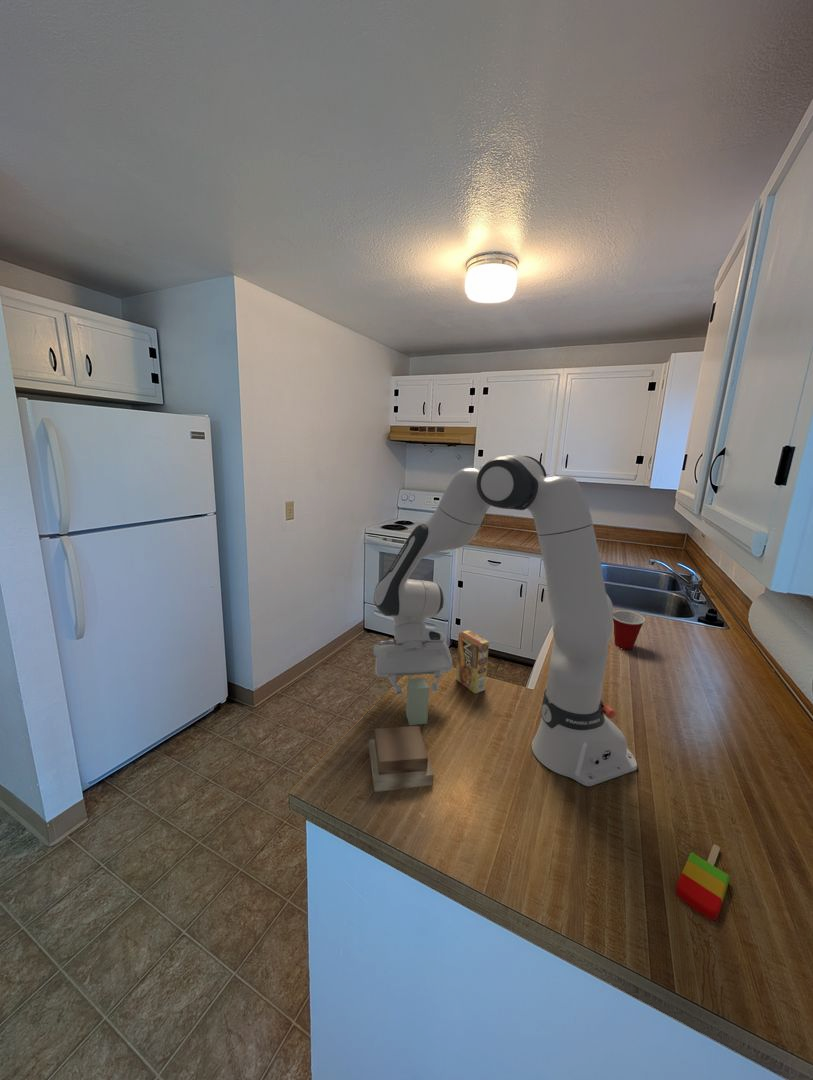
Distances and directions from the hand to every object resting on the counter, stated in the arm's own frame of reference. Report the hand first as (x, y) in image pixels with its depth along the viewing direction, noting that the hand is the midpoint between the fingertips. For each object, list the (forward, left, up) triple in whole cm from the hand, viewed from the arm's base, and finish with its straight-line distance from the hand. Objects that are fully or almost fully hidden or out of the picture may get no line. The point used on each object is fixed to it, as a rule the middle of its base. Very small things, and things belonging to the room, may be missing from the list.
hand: (416, 692), depth 103 cm
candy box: (-19, -12, -7) cm, 24 cm away
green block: (0, +1, -7) cm, 7 cm away
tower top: (+7, +16, -4) cm, 18 cm away
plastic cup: (-84, -29, -7) cm, 89 cm away
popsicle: (-39, +47, -7) cm, 61 cm away
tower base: (+7, +16, -7) cm, 19 cm away
